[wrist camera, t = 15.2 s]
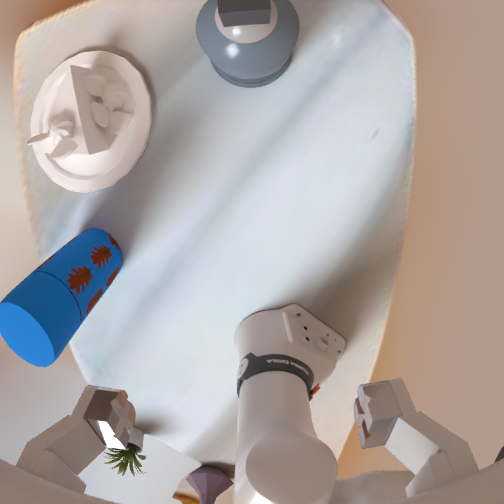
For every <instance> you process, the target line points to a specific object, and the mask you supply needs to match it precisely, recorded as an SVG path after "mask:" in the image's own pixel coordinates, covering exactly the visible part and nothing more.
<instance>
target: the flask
mask: <svg viewBox="0 0 504 504" xmlns="http://www.w3.org/2000/svg"><path fill="white" fill-rule="evenodd" d="M186 480H187V481H188V483H189V484H190V485H191V486H192V487H193V488H194V489H195V491H196V492H197V493H198V495H199V498H200V503H201V504H214V502H215V500H216V498H217V496H218V495H220V494H221V493H222V492H224V491H225V490H227V489H228V488H229V487H230V486H231V485H232V484H234V483H233V482H232V481H231V480H230V479H229V478H228V476H227V475H226V474H225V473H224V472H223V471H221V470H220V469H218V468H213V467H200V468H198V469H197V470H195V471H193V472H192V473H190V474H189V476H188V477H187V478H186Z"/></svg>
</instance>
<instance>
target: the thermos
mask: <svg viewBox="0 0 504 504" xmlns="http://www.w3.org/2000/svg"><path fill="white" fill-rule="evenodd" d="M122 260H123V259H122V254H121V250H120V248H119V246H118V244H117V242H116V241H115V240H114V239H113V238H112V237H111V236H110V235H109V234H107V233H105V232H104V231H102V230H97V229H90V230H86V231H84V232H82V233H81V234H79V235H78V236H76V237H75V238H73V239H72V240H71V241H70V242H68V243H67V244H66V245H64V246H63V247H62V248H61V249H60V250H58V251H57V252H56V253H55V254H53V255H52V256H51V257H50V258H49V259H47V260H46V261H45V262H44V263H43V264H41V265H40V266H39V267H38V268H37V269H36V270H34V271H33V272H32V273H31V274H30V275H29V276H28V277H26V278H25V279H24V280H23V281H22V282H21V283H20V284H19V285H17V286H16V287H15V288H14V289H13V290H12V291H11V292H10V293H9V294H8V295H7V296H6V297H5V298H4V299H3V300H2V301H1V303H0V333H1V335H2V337H3V338H4V340H5V341H6V343H7V344H8V345H9V347H10V348H11V349H12V350H13V351H14V352H15V353H16V354H17V355H18V356H20V357H21V358H22V359H24V360H25V361H27V362H28V363H31V364H33V365H35V366H39V367H47V366H49V365H51V364H52V363H53V362H54V361H55V360H56V359H57V358H58V357H59V355H60V354H61V352H62V351H63V350H64V348H65V347H66V345H67V344H68V342H69V341H70V339H71V338H72V337H73V335H74V334H75V332H76V331H77V329H78V328H79V327H80V325H81V324H82V322H83V321H84V320H85V318H86V317H87V316H88V314H89V313H90V311H91V310H92V309H93V307H94V306H95V305H96V303H97V302H98V301H99V299H100V298H101V297H102V295H103V294H104V293H105V291H106V290H107V289H108V288H109V286H110V285H111V283H112V282H113V280H114V279H115V277H116V276H117V274H118V273H119V271H120V269H121V266H122Z"/></svg>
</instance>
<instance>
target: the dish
mask: <svg viewBox="0 0 504 504" xmlns="http://www.w3.org/2000/svg"><path fill="white" fill-rule="evenodd" d="M30 124H31V139H30V140H29V141H28V143H27V145H30V144H32V146H33V149H34V152H35V155H36V157H37V160H38V162H39V165H40V166H41V167H42V169H43V170H44V171H45V172H46V174H47V175H48V176H49V177H50V179H51V180H52V181H53V182H55V183H57V184H59V185H60V186H62V187H64V188H66V189H67V190H69V191H76V192H84V193H91V192H95V191H98V190H101V189H105V188H108V187H111V186H112V185H114V184H115V183H116V182H118V181H119V180H120V179H121V178H123V177H124V176H125V175H127V174H128V173H129V172H131V170H132V169H133V167H134V166H135V164H136V163H137V161H138V160H139V158H140V157H141V155H142V154H143V152H144V151H145V148H146V144H147V140H148V137H149V133H150V130H151V127H152V99H151V95H150V93H149V90H148V88H147V85H146V83H145V80H144V77H143V75H142V74H141V73H140V72H139V71H138V70H137V69H136V68H135V67H134V66H133V65H132V64H131V62H130V61H129V60H128V59H126V58H124V57H121V56H118V55H116V54H113V53H110V52H107V51H105V50H101V51H89V52H82V53H80V54H77V55H75V56H73V57H71V58H69V59H68V60H66V61H64V62H62V63H61V64H60V65H59V66H58V67H57V68H56V69H55V70H54V71H53V72H52V73H51V74H50V75H49V76H48V77H47V78H46V80H45V82H44V84H43V85H42V87H41V89H40V91H39V93H38V95H37V97H36V99H35V103H34V107H33V112H32V117H31V122H30Z"/></svg>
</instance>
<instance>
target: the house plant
mask: <svg viewBox="0 0 504 504" xmlns="http://www.w3.org/2000/svg"><path fill="white" fill-rule="evenodd" d="M128 432H129V434H130V438H129V441H128V445H127V448H126V450H125V449H118V448H112V447H111V448H112V449H110V448H108V449H109V450H110V451H112V452H115V453H118V452H120V453H118V454H115V455H114V454H109V453H106V454H108V455H111V456H114V457H112V458H109V459H114V460H112V461H110V462H107V463H106V464H110V463H113V462H116V461H118V460H120V459H121V458H122V457H123V460H121V462H120V463H119V464H118V465H116V466H115V467H113V468H116V467H118V466H120V467H119V471H118V474H120V473H121V472H122V471H123V470H124V471H123V475H124V474H125V471H126V469H127V466H128V463H130V470H131V472H132V474H133V475H134V472H133V471H134V470H133V465H132V464H133V460H134V464H135V465H136V466H137V468H138V469H139V467H142V465H141V464H140V463H139V462H138V460H137V459H136V456H135V454H136V455H137V453H141V452H142V447H143V435H144V433H143V432H142V431H141V430H140V429H138V428H135V427H132V428H131V429H130V430H129V431H128ZM114 449H115V450H121V451H122V452H121V451H113V450H114ZM102 452H103V451H102ZM111 456H110V457H111ZM115 457H118V458H115ZM138 457H139V458H140V459H142V460H145V458H146V457H145V456H142V455H138ZM136 466H135V467H136ZM138 466H139V467H138ZM113 468H112V469H113ZM137 468H136V469H137ZM137 471H138V470H137ZM139 471H140V472H141V470H140V469H139ZM141 473H142V472H141Z"/></svg>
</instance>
